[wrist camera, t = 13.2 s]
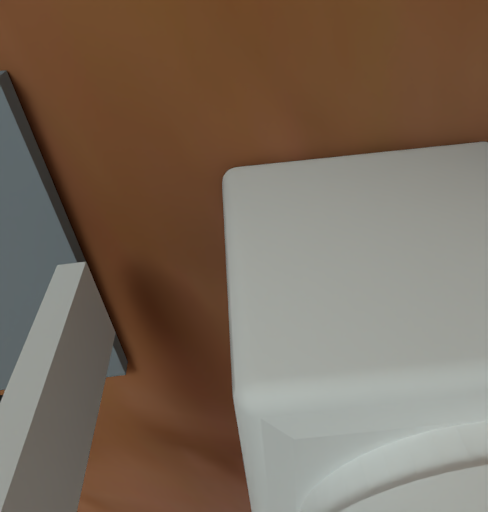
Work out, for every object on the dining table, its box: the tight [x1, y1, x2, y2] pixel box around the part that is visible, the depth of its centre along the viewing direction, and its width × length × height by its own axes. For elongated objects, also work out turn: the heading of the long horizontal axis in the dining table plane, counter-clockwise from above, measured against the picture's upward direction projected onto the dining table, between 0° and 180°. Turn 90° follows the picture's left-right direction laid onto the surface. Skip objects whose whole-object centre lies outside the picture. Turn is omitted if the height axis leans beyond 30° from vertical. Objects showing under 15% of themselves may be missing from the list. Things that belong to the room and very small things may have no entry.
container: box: [222, 142, 488, 512], centre depth 10 cm, size 8×8×13 cm
